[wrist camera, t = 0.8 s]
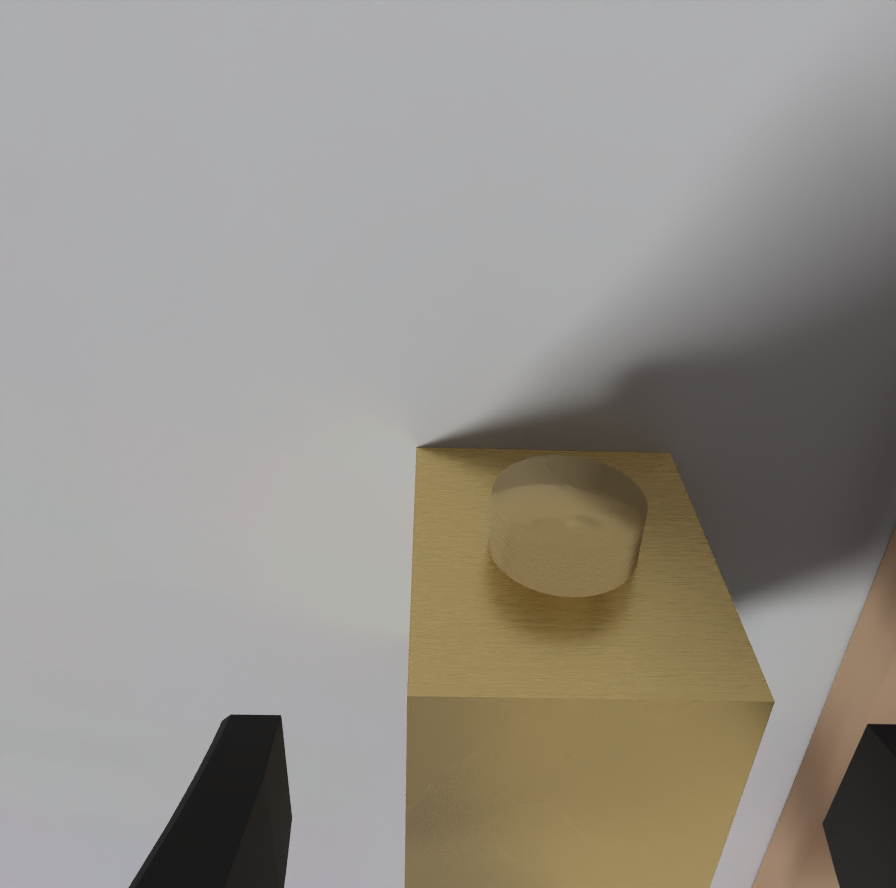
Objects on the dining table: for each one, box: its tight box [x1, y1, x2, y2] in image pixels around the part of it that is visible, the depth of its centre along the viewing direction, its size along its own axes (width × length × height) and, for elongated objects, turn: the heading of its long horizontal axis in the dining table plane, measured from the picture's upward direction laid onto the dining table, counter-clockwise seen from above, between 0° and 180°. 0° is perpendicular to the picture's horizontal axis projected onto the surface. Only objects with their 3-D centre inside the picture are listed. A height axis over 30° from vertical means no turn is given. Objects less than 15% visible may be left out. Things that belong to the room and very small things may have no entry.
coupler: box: [405, 447, 775, 888], centre depth 12 cm, size 6×4×5 cm
